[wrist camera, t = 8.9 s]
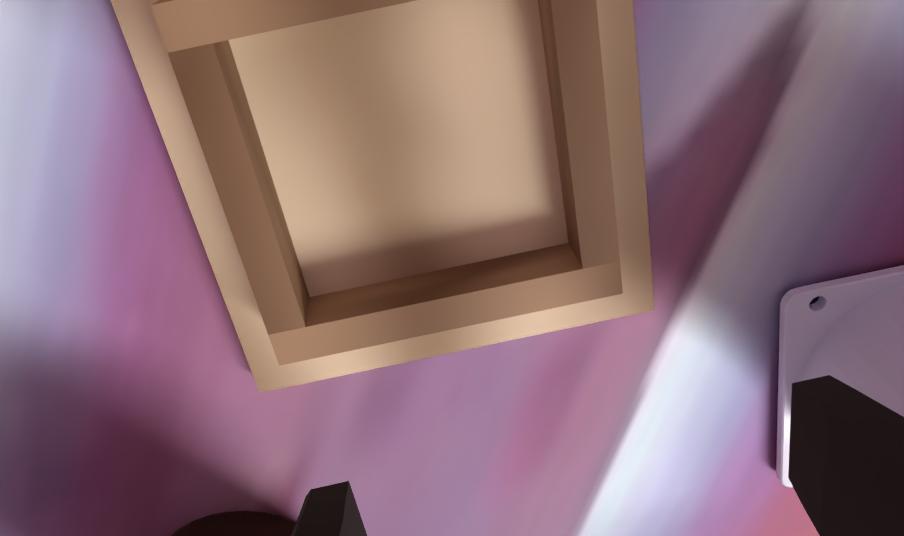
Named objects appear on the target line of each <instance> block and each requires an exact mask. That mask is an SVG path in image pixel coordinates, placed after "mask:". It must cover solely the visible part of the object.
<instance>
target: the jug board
mask: <svg viewBox="0 0 904 536" xmlns="http://www.w3.org/2000/svg"><path fill="white" fill-rule="evenodd" d="M110 1H111V3H112V6H113V8H114V11H115V14H116V16H117V19H118V22H119V24H120V27H121V30H122V32H123V35H124V37H125V40H126V43H127V45H128V48H129V51H130V53H131V56H132V58H133V61H134V64H135V66H136V69H137V72H138V74H139V77H140V80H141V82H142V85H143V87H144V90H145V93H146V95H147V98H148V101H149V103H150V106H151V108H152V111H153V114H154V116H155V119H156V122H157V124H158V127H159V130H160V132H161V135H162V137H163V140H164V143H165V145H166V148H167V151H168V153H169V156H170V158H171V161H172V164H173V166H174V169H175V172H176V174H177V177H178V180H179V182H180V185H181V187H182V190H183V193H184V195H185V198H186V201H187V203H188V206H189V209H190V211H191V214H192V216H193V219H194V222H195V224H196V227H197V230H198V232H199V235H200V237H201V240H202V243H203V245H204V248H205V251H206V253H207V256H208V259H209V261H210V264H211V266H212V269H213V272H214V274H215V277H216V280H217V282H218V285H219V287H220V290H221V293H222V295H223V298H224V301H225V303H226V306H227V309H228V311H229V314H230V316H231V319H232V322H233V324H234V327H235V330H236V332H237V335H238V337H239V340H240V343H241V345H242V348H243V351H244V353H245V356H246V359H247V361H248V364H249V366H250V369H251V372H252V374H253V377H254V380H255V382H256V385H257V387H258V390H259V393H261V392H266V391H271V390H275V389H280V388H285V387H290V386H295V385H299V384H304V383H309V382H314V381H318V380H323V379H328V378H333V377H337V376H342V375H347V374H352V373H356V372H361V371H366V370H371V369H376V368H380V367H385V366H390V365H395V364H399V363H404V362H409V361H414V360H418V359H423V358H428V357H433V356H438V355H442V354H447V353H452V352H457V351H461V350H466V349H471V348H476V347H480V346H485V345H490V344H495V343H499V342H504V341H509V340H514V339H519V338H523V337H528V336H533V335H538V334H542V333H547V332H552V331H557V330H561V329H566V328H571V327H576V326H581V325H585V324H590V323H595V322H600V321H604V320H609V319H614V318H619V317H623V316H628V315H633V314H638V313H642V312H647V311H652V310H655V309H654V294H653V280H652V265H651V251H650V236H649V222H648V207H647V193H646V178H645V164H644V149H643V135H642V120H641V106H640V91H639V77H638V62H637V48H636V33H635V19H634V4H633V0H110Z"/></svg>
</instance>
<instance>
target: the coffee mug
mask: <svg viewBox="0 0 904 536" xmlns="http://www.w3.org/2000/svg"><path fill="white" fill-rule="evenodd" d="M295 525H296V523H295V522H293V521H290V520H288V519H286V518H283V517H279V516H275V515H271V514H267V513H259V512H249V511H242V512H226V513H221V514H215V515H210V516H207V517H204V518H201V519H199V520H196V521H193V522H191V523H189V524H188V525H186V526H184V527H182V528H180V529H179V530H177V531H176V532H175V533H174V534H173V535H171V536H291V535H292V532H293V530H294V527H295Z"/></svg>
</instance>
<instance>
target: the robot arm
mask: <svg viewBox="0 0 904 536" xmlns="http://www.w3.org/2000/svg"><path fill="white" fill-rule="evenodd" d="M818 296H819V299H818V300H817V301H816V302H815V303H814V304H811V305H810V302H811V301H812V300H813V298H815V297H818ZM776 474H777V477H778V479H779V480H780V482H781V483H782V484H783V485H784V486H786V487H793V488H794V490H795V491H796V493H797V495H798V497H799V499H800V501H801V503H802V505H803V507H804V508H805V510H806V512H807V514H808V516H809V517H810V519H811V521H812V523H813V524H814V526H815V528H816V530H817V531H818V533H819V535H820V536H904V265H902V266H897V267H892V268H887V269H883V270H878V271H873V272H868V273H864V274H859V275H854V276H849V277H845V278H840V279H835V280H830V281H825V282H821V283H816V284H811V285H806V286H802V287H797V288H794V289H791V290H790V291H788V292H787V293H786V294H785V295H784V296H783V298H782V299H781V303H780V331H779V376H778V420H777V465H776ZM291 536H367V534H366V531H365V528H364V525H363V522H362V519H361V516H360V513H359V510H358V507H357V504H356V501H355V498H354V495H353V492H352V489H351V486H350V483H349V481H347V482H343V483H338V484H334V485H329V486H324V487H320V488H315V489H311V490H310V492H309V493H308V494H307V496H306V498H305V500H304V503H303V506H302V509H301V511H300V514H299V517H298V519H297V522H296V525H295V527H294V530H293V532H292V535H291Z"/></svg>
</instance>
